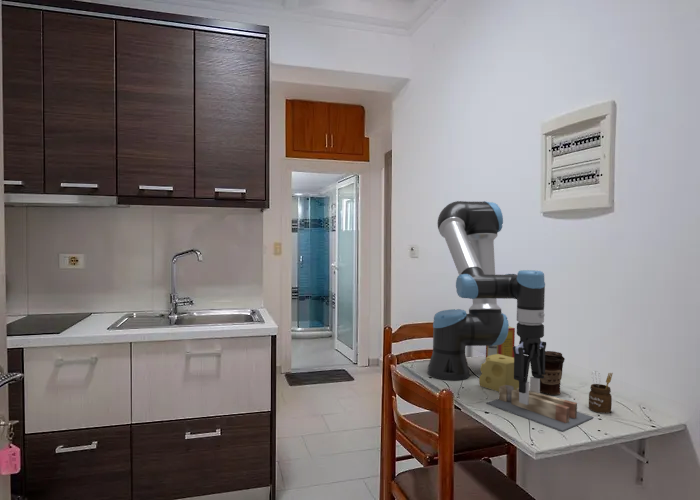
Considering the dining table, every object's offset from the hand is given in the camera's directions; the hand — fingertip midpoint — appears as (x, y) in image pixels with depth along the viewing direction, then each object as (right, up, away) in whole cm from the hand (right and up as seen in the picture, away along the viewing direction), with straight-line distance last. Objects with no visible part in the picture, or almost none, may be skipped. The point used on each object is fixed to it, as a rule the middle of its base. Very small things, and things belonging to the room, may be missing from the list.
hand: (529, 401), depth 135 cm
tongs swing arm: (+4, -2, -2) cm, 5 cm away
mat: (+2, -2, -2) cm, 3 cm away
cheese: (-2, -2, +19) cm, 19 cm away
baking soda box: (+6, -1, +46) cm, 46 cm away
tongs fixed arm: (0, -2, -2) cm, 3 cm away
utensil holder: (+21, -3, -1) cm, 21 cm away
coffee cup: (+12, -2, +14) cm, 19 cm away
